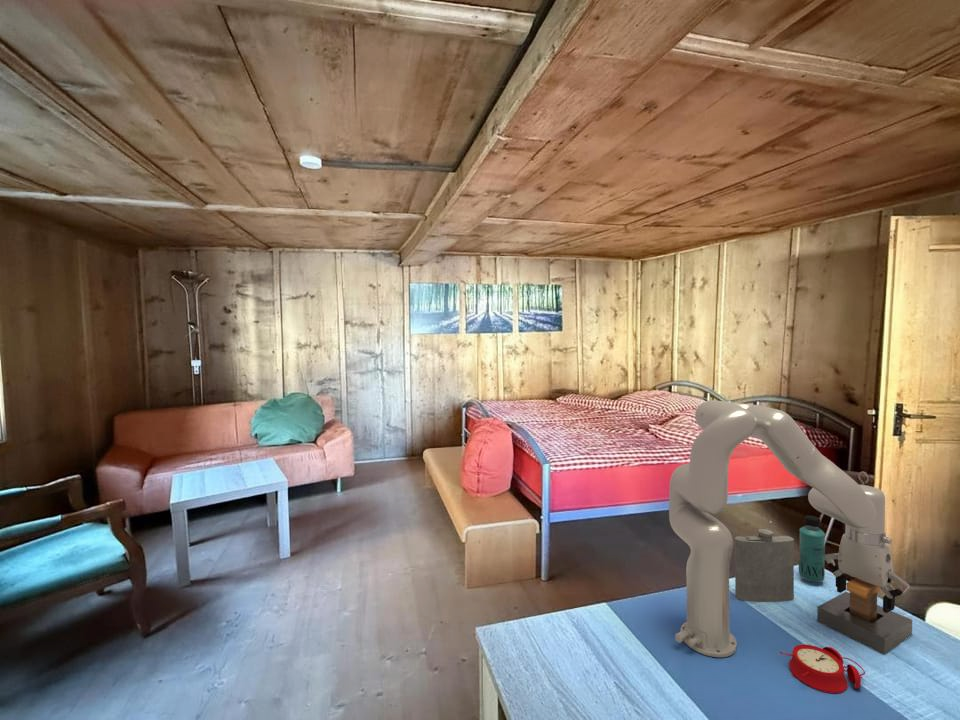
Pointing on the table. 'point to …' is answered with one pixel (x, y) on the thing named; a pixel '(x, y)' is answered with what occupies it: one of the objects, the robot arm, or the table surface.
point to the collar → (865, 624)
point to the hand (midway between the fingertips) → (863, 600)
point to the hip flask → (764, 567)
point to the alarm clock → (822, 668)
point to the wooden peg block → (863, 599)
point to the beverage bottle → (812, 550)
